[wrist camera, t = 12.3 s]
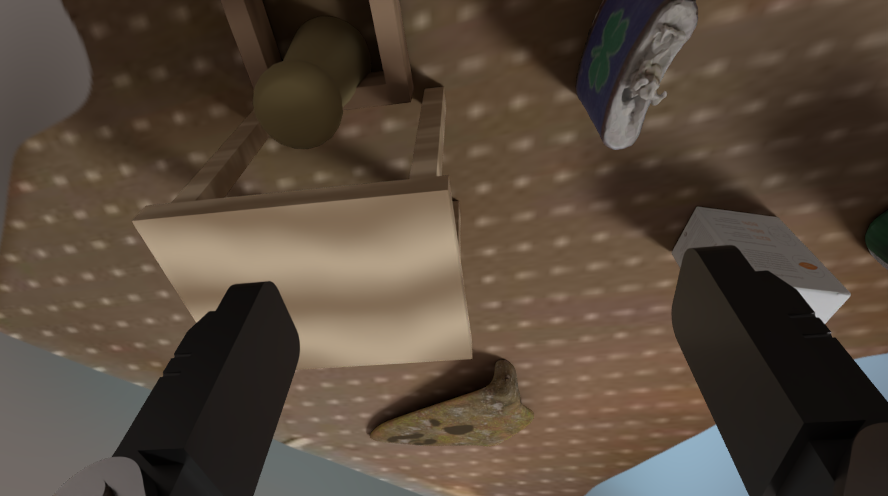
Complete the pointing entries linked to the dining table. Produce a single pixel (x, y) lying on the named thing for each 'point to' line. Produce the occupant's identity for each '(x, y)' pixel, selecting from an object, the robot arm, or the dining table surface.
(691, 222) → the small box
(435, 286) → the wooden stool
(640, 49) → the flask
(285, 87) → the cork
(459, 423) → the decorative stone
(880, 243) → the coffee jar
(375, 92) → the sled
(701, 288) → the robot arm
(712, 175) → the dining table surface
